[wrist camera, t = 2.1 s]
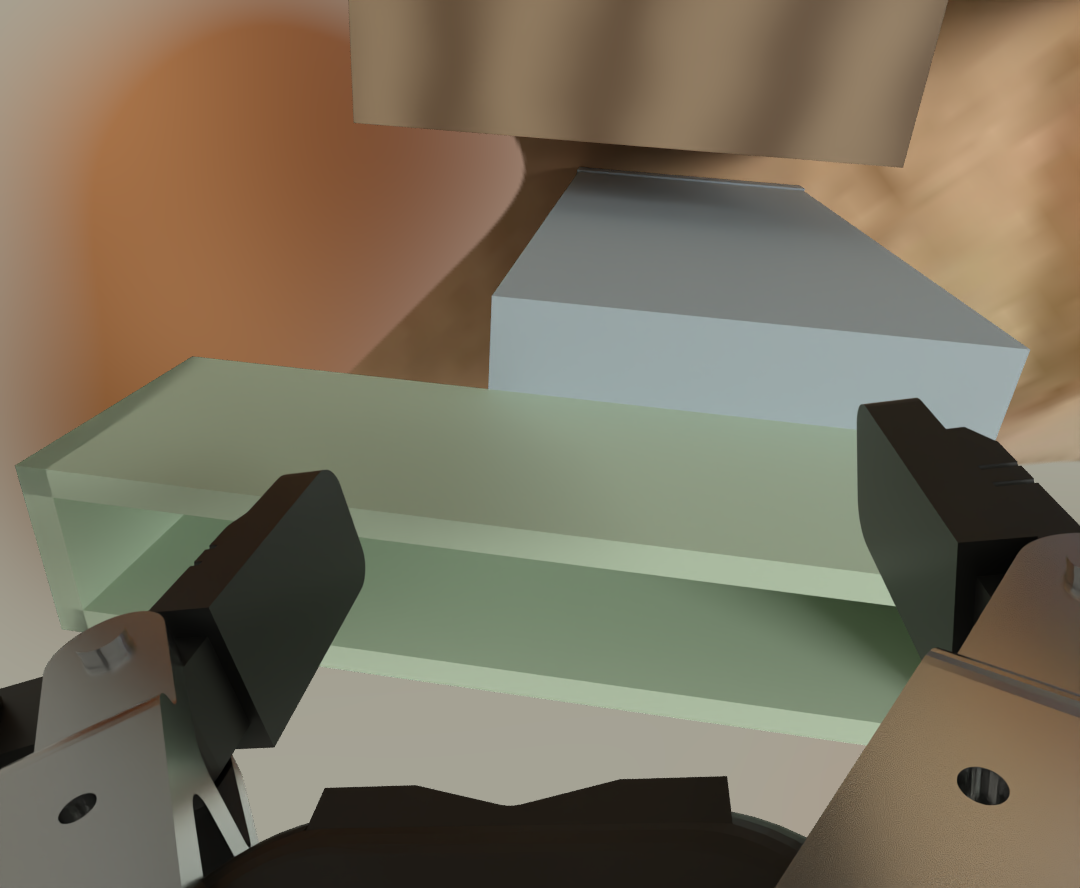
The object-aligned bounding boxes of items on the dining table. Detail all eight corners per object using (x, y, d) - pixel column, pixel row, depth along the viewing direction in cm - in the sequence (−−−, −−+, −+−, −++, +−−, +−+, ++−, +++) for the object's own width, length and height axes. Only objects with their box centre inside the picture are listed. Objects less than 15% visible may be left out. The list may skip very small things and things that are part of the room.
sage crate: (212, 487, 24) (62, 629, 18) (192, 356, 22) (14, 465, 16) (909, 574, 22) (1011, 766, 16) (956, 440, 20) (1095, 601, 14)
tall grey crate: (566, 317, 53) (477, 592, 25) (579, 166, 49) (487, 291, 20) (767, 337, 52) (917, 651, 23) (799, 185, 47) (1035, 346, 19)
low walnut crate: (450, 108, 48) (353, 122, 32) (452, -79, 43) (341, -170, 27) (812, 136, 46) (903, 167, 30) (853, -55, 42) (986, -140, 26)
